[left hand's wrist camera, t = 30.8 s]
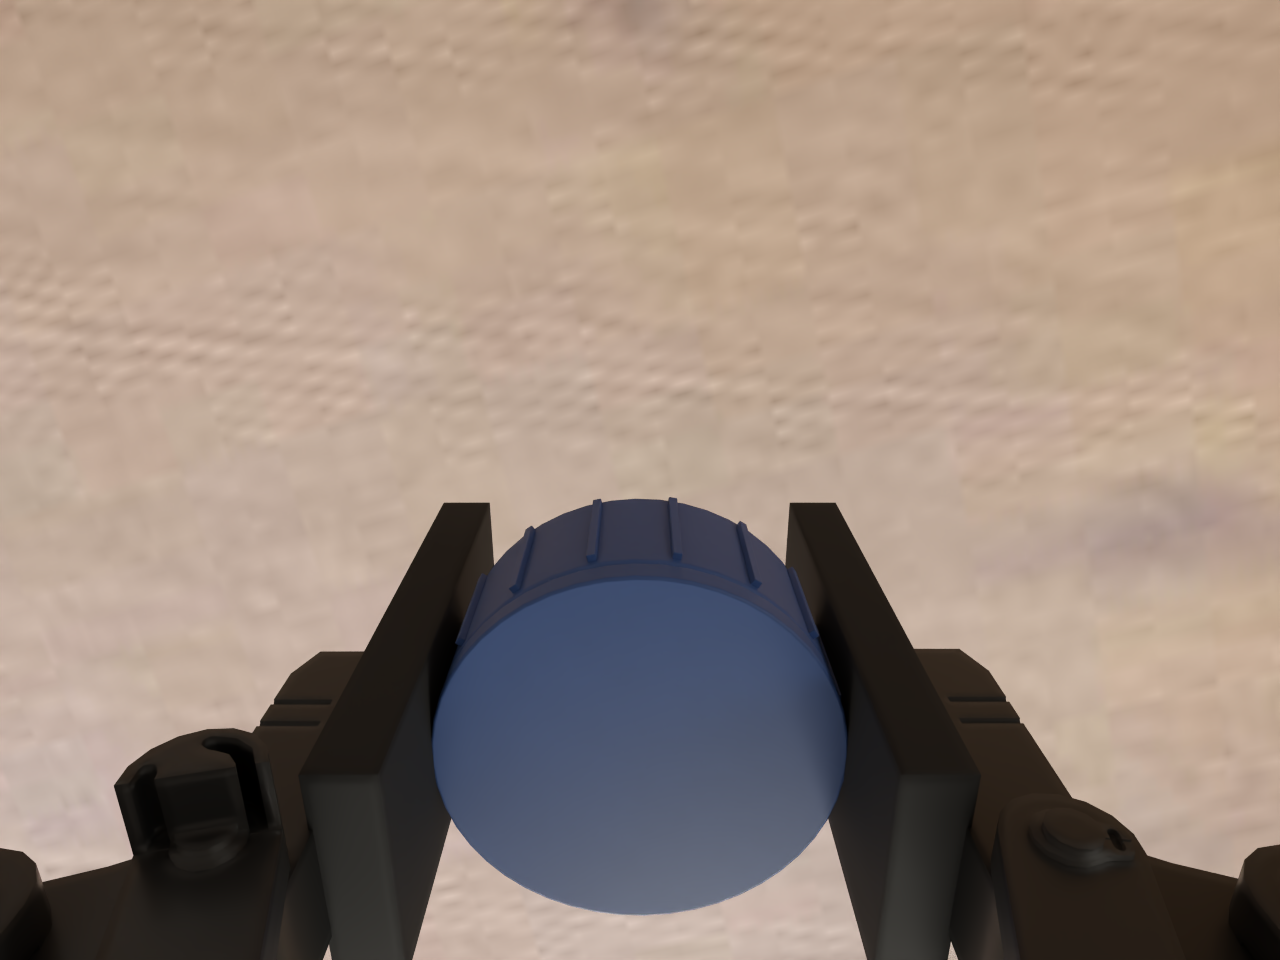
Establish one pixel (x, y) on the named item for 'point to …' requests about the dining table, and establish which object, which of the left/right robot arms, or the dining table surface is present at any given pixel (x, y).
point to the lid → (639, 712)
